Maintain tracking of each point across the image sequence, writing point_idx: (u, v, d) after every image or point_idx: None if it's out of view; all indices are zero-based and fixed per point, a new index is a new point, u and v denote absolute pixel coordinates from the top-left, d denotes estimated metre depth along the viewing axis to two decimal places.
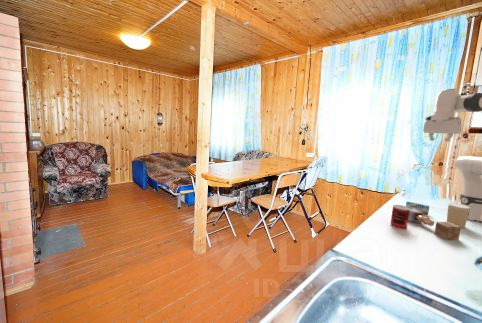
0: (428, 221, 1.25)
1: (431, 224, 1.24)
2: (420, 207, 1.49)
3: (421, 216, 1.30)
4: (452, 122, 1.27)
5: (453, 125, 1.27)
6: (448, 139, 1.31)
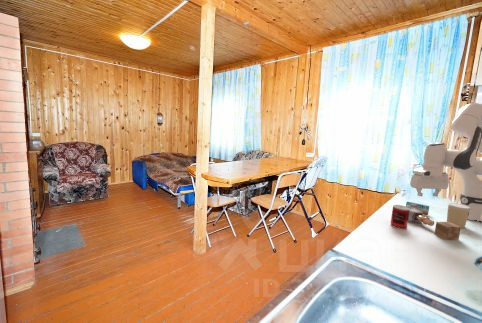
0: (428, 221, 1.25)
1: (431, 224, 1.24)
2: (420, 207, 1.49)
3: (421, 216, 1.30)
4: (446, 178, 1.25)
5: (446, 180, 1.25)
6: None
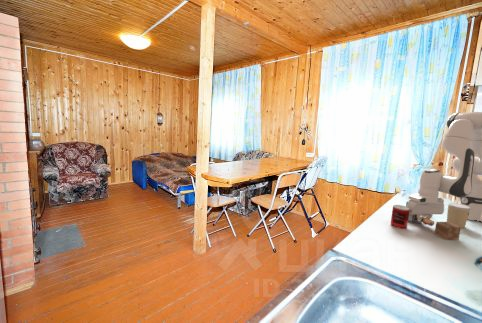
0: (428, 221, 1.25)
1: (431, 224, 1.24)
2: None
3: (421, 216, 1.30)
4: (441, 204, 1.27)
5: (442, 206, 1.27)
6: None
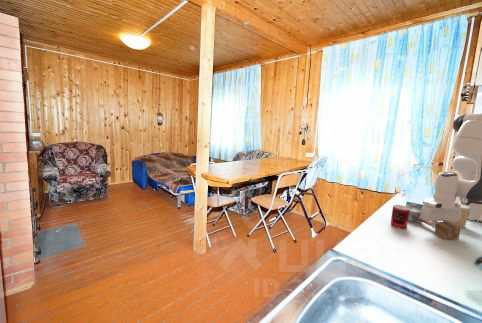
0: None
1: None
2: (420, 207, 1.49)
3: None
4: (458, 209, 1.18)
5: (458, 212, 1.18)
6: None
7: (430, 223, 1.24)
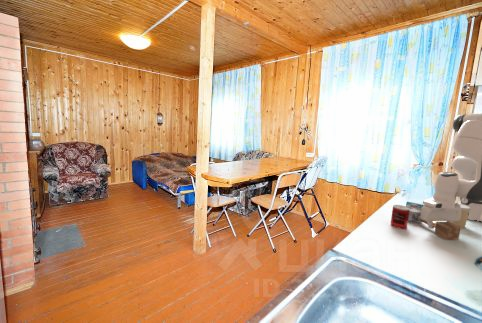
0: None
1: None
2: (420, 207, 1.49)
3: None
4: (458, 210, 1.18)
5: (458, 212, 1.18)
6: None
7: None
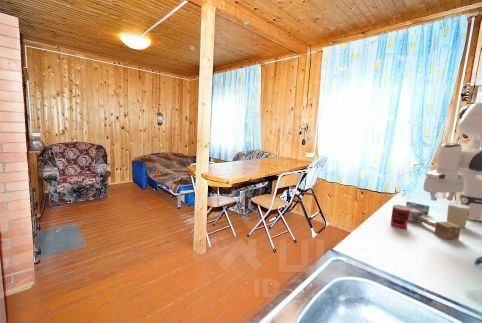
0: None
1: None
2: (420, 207, 1.49)
3: None
4: (461, 181, 1.18)
5: (461, 183, 1.18)
6: None
7: (430, 223, 1.24)
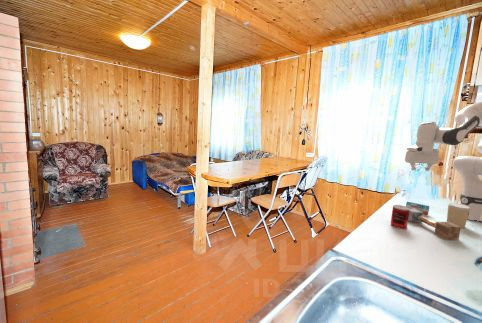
0: None
1: None
2: (420, 207, 1.49)
3: None
4: (436, 154, 1.40)
5: (437, 156, 1.40)
6: None
7: (430, 223, 1.24)
